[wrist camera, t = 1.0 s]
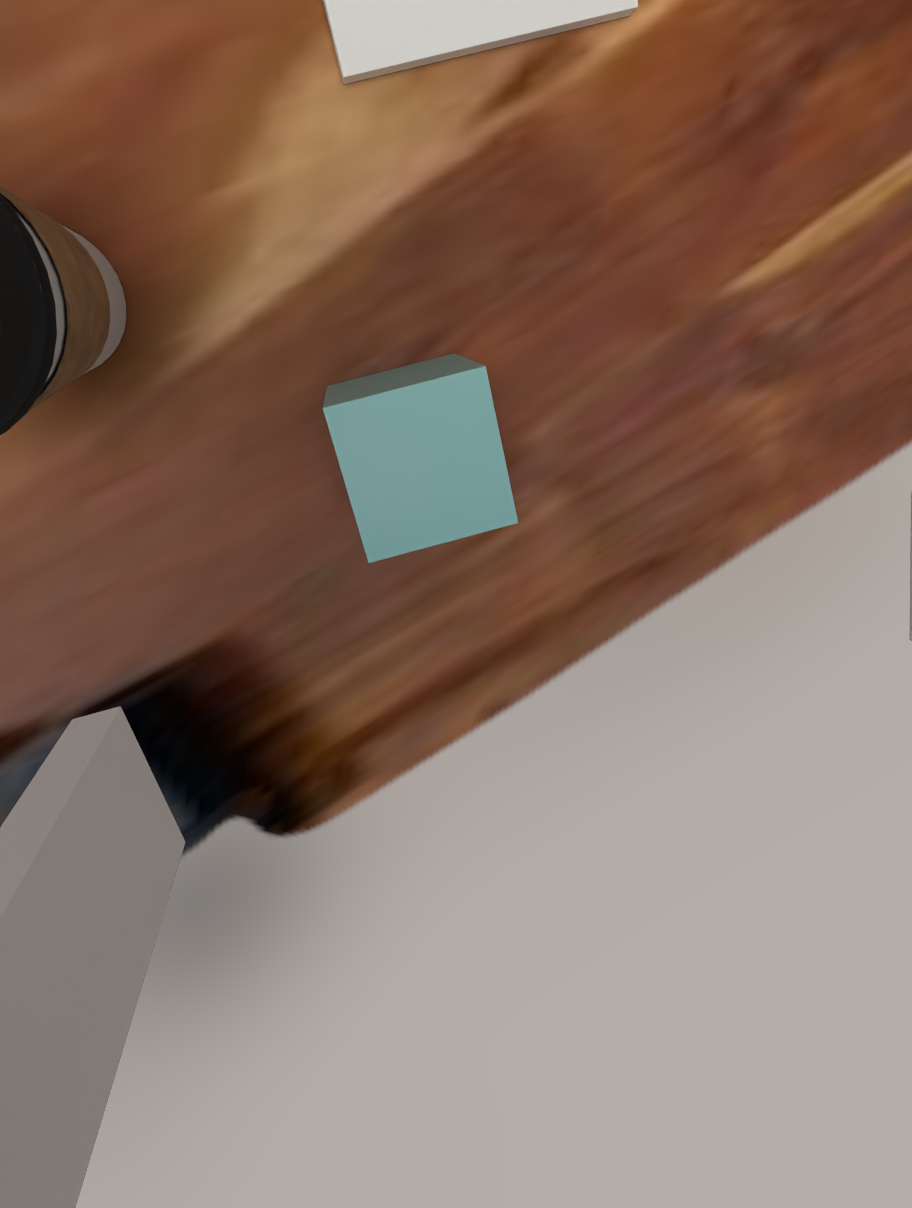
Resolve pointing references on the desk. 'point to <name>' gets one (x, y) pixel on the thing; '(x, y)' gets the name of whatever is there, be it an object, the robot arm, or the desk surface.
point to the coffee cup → (50, 308)
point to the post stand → (448, 28)
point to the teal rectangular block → (420, 455)
